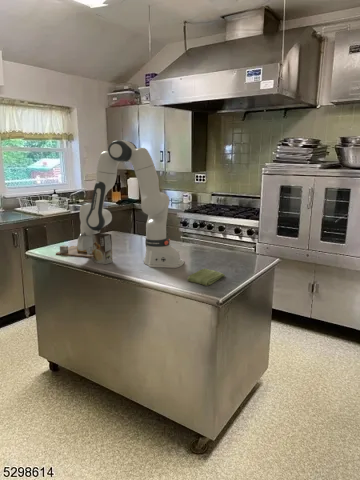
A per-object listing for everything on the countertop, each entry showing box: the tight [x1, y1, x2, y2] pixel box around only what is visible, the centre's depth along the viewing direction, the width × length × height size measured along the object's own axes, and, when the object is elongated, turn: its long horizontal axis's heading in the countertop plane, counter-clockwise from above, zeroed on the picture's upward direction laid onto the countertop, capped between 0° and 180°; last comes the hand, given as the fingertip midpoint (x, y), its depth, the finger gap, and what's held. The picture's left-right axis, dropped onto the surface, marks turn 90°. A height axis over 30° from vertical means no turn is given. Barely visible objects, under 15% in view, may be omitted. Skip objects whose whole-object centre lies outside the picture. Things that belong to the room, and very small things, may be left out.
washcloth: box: [186, 268, 225, 287], centre depth 176 cm, size 13×18×3 cm
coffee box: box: [92, 232, 114, 265], centre depth 200 cm, size 9×6×16 cm
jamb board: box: [55, 244, 94, 259], centre depth 220 cm, size 24×18×5 cm
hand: (89, 254), depth 209 cm, fingers closed
